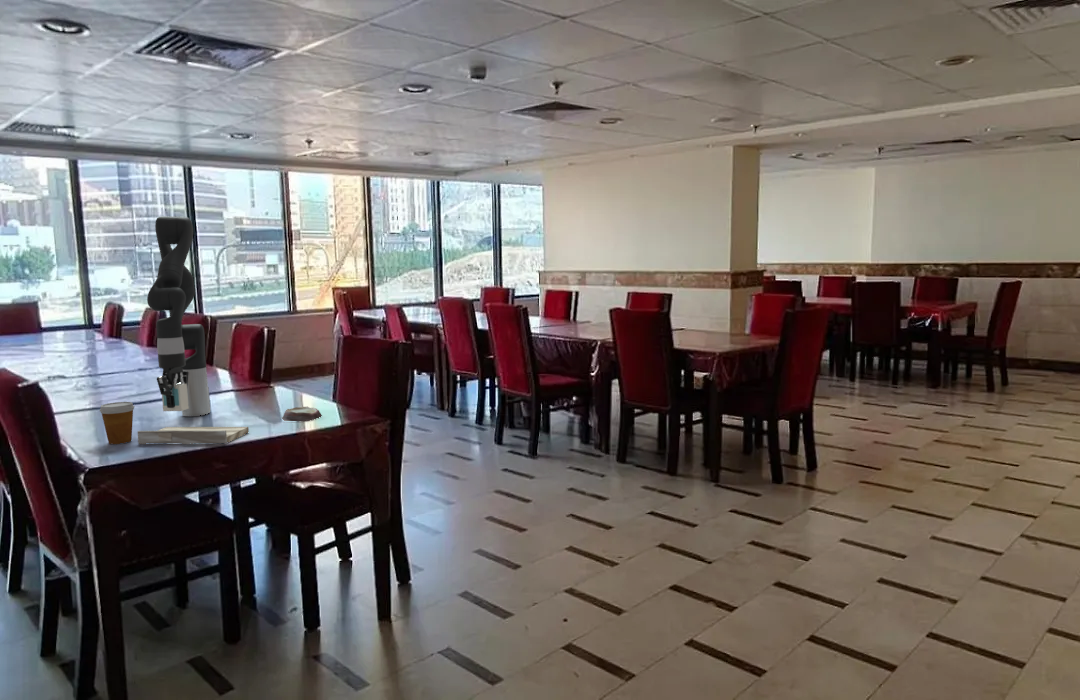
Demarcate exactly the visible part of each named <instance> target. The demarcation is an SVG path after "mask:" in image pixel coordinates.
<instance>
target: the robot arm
mask: <svg viewBox="0 0 1080 700" xmlns="http://www.w3.org/2000/svg"><path fill="white" fill-rule="evenodd" d="M154 223H155V224H154V226H155V227H154V229H155V235H156V240H157V244H158V249H159V254H160V258H161V261H160V263H159V265H158V270H157V277H156V279H155V281H154V283H153V284H152V286H151V287H150V289H149V291H148V293H147V299H146V300H147V301H146V302H147V306H148V307H149V308H150V309H151V310H153V311H156V312H163V311H164V312H165V311H168V312H169V316H167V317H164V318H160V319H158V320H157V321H156V324H155V325H156V338H157V340H156V341H157V342H156V347H157V359H158V368H160V369H162V375H161V376H158V377H156V381H157V385H158V388H159V391H160V395H161V396H162V395H165V396H166V401H167V407H168V408H174V407H175V401H174V396H173V395H174V389H175V388H176V384H187V394H188V406H189V409H186V410H183V411H181V414H182V416H183V417H200V415H201V416H206V415H209V414H210V412H211V403H210V402H211V400H210V399H211V398H210V388H209V385H208V373H207V370H208V369H207V360H206V336H205V335H206V334H205V328H204V326H203V325H202V323H201V324H200V323H192V324H190V323H189V324H183V323H182V321H183V316H184V314H185V312H186V311H187V309H188V307H189V306H190V305H191V303H192V302H193V299H194V298H195V295H196V289H195V282H194V281H195V280H194V276H193V274H192V273H191V271H190V270H189V268H188V267H186V265H185V263H186V261H187V257H188V255H189V251H190V248H191V245H192V243H193V237H194V226H193V222H192V220H191V219H190V218H189V217H188V216H187V217H186V216H170V215H169V216H168V215H167V216H164V215H162V216H158V217H157V218H156V219H155V222H154ZM172 245H176V246H175V247H174V248H172ZM191 350H195V352H194V353H193V354H191V356H189V357H186V354H185V351H191ZM169 385H171V386H169ZM163 388H165V391H164V389H163ZM169 388H171V392H170V389H169ZM208 413H209V414H208ZM205 414H206V415H205Z"/></svg>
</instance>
